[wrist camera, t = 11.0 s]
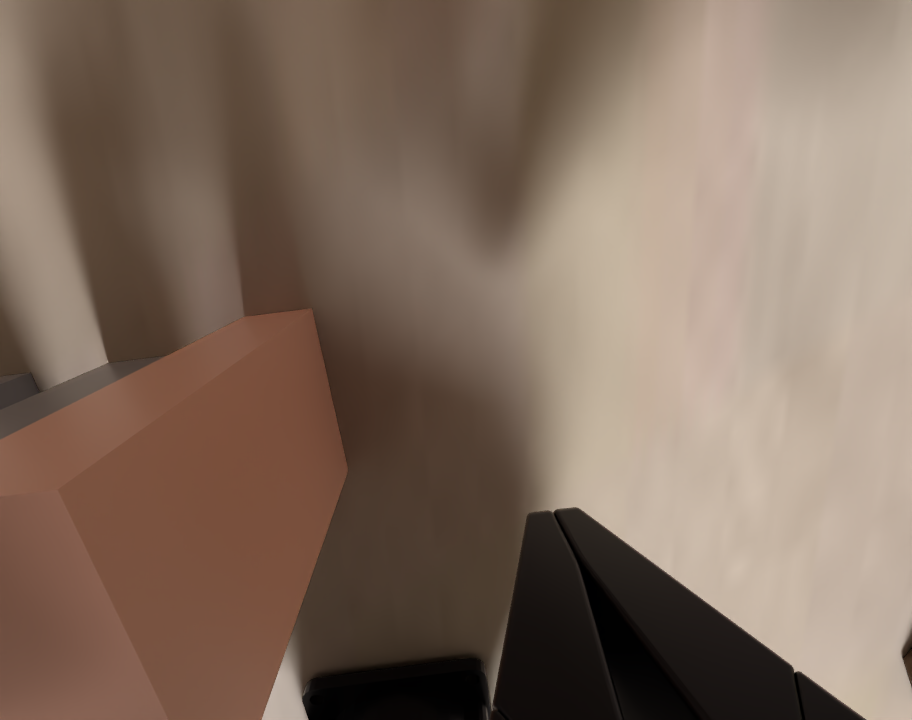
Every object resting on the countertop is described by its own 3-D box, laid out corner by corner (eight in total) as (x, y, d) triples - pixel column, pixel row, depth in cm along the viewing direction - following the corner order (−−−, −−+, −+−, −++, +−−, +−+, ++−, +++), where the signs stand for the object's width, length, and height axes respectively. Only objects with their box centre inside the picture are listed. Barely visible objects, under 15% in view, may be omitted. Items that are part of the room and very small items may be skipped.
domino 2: (175, 354, 12) (-332, 615, 4) (227, 508, 13) (-63, 907, 5) (107, 362, 12) (-531, 639, 4) (168, 516, 13) (-203, 925, 5)
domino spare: (311, 308, 11) (56, 489, 4) (348, 470, 13) (222, 830, 5) (244, 316, 11) (-150, 515, 4) (289, 478, 13) (78, 850, 5)
